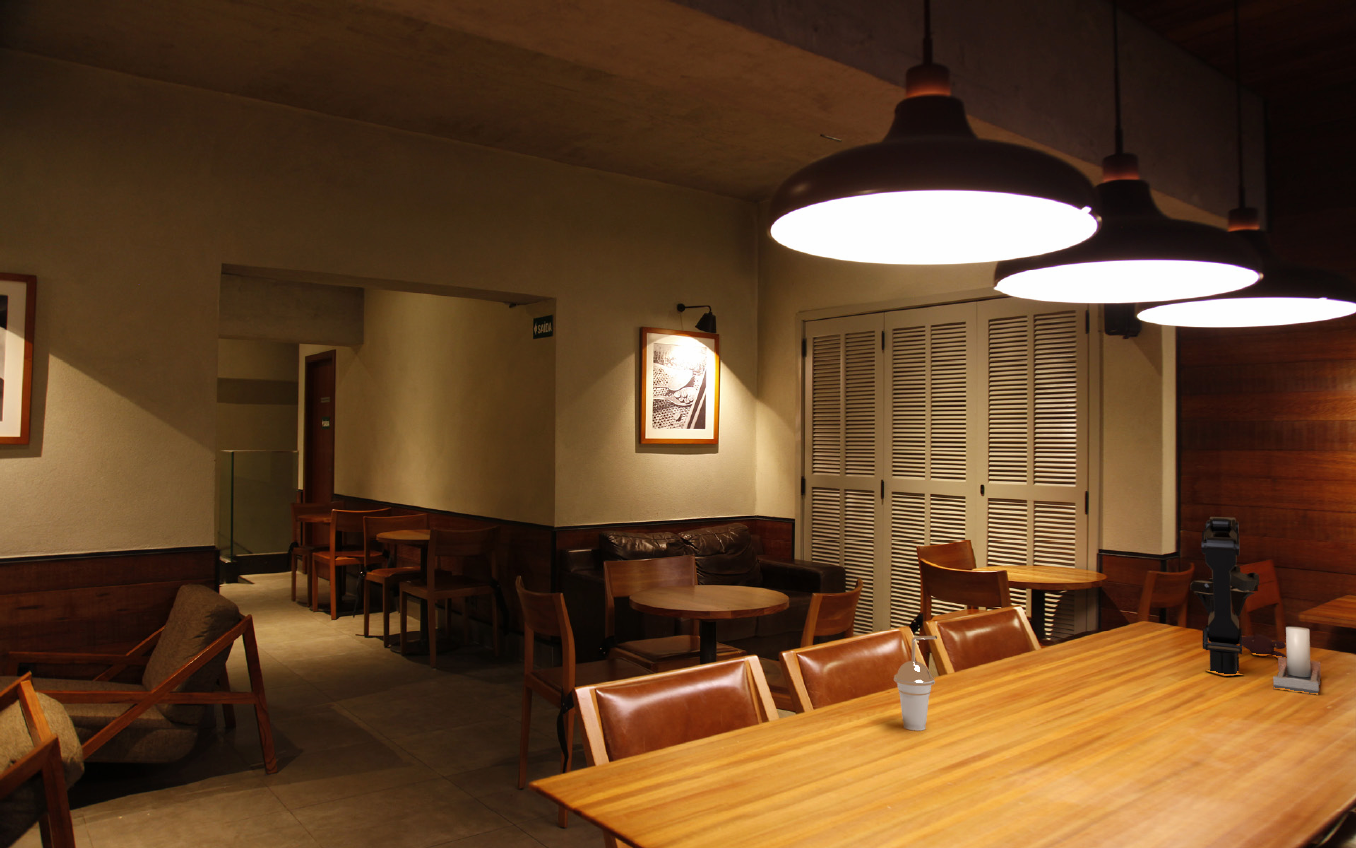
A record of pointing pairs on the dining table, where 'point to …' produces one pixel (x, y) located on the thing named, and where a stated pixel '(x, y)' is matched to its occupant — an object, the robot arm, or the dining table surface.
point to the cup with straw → (914, 690)
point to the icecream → (1262, 645)
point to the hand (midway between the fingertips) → (1224, 616)
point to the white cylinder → (1298, 651)
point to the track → (1298, 678)
